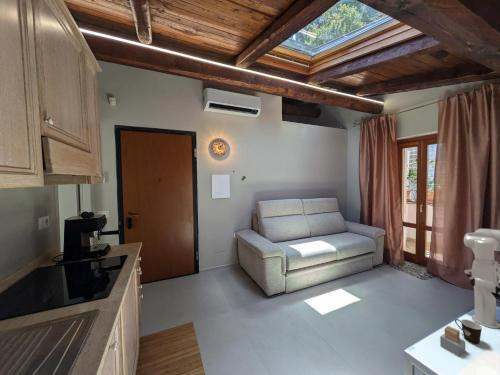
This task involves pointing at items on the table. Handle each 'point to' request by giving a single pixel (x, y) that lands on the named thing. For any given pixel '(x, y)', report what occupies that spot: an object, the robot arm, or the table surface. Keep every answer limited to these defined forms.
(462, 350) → the stoneware box
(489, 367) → the table surface
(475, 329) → the coffee mug
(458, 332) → the walnut block
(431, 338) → the table surface
